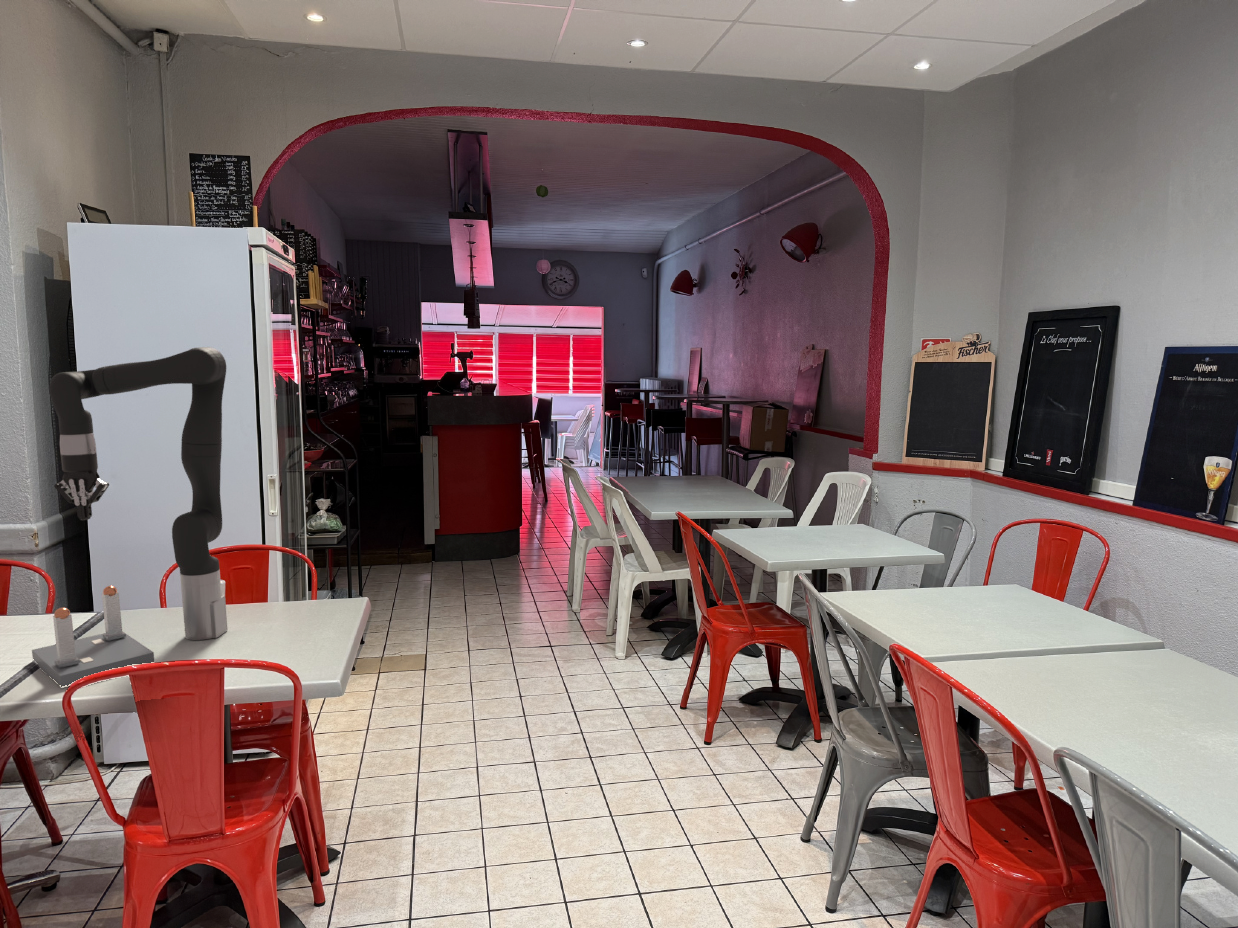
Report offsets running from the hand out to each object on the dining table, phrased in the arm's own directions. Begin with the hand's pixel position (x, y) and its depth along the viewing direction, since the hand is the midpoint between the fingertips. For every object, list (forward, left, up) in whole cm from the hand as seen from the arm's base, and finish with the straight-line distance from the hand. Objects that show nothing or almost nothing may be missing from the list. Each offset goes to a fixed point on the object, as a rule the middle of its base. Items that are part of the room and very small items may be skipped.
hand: (85, 519), depth 207 cm
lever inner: (-9, +7, -29) cm, 31 cm away
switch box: (-9, +15, -32) cm, 37 cm away
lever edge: (-9, +24, -29) cm, 38 cm away
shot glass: (-16, -29, -32) cm, 46 cm away
